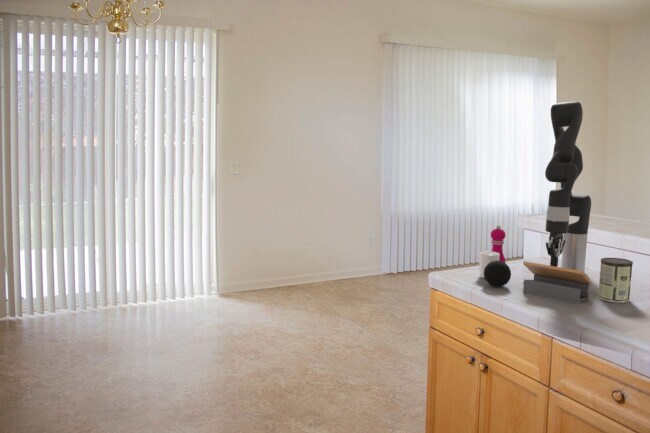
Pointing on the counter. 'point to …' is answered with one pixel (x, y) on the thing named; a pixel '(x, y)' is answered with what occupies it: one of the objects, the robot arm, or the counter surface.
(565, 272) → the brown flat rectangular panel
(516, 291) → the counter surface
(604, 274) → the coffee can
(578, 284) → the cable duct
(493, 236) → the pepper mill
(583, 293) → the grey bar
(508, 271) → the speaker
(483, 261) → the white cup
